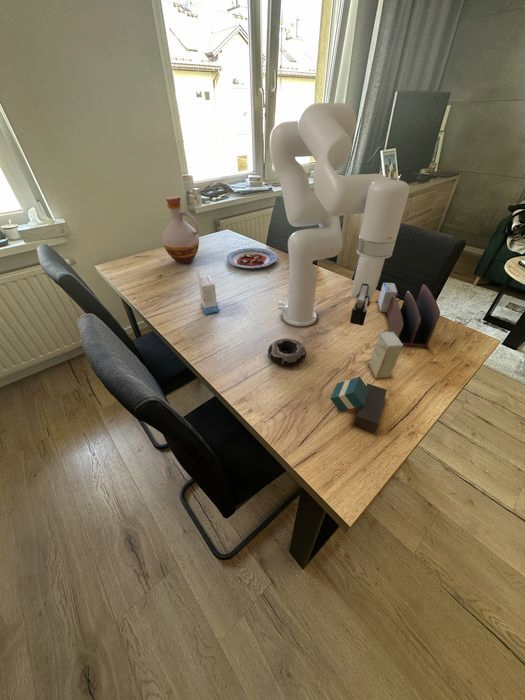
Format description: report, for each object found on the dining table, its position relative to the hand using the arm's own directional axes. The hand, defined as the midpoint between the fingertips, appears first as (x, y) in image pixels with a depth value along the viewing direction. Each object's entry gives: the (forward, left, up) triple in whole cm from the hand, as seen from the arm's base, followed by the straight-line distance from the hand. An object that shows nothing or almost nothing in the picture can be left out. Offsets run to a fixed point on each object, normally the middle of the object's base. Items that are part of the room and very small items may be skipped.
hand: (359, 313), depth 73 cm
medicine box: (+4, +42, -20) cm, 47 cm away
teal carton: (+4, -13, -20) cm, 24 cm away
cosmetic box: (+9, +4, -20) cm, 22 cm away
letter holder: (+13, +30, -20) cm, 39 cm away
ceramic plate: (-65, +58, -20) cm, 90 cm away
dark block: (+9, -13, -20) cm, 25 cm away
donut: (-18, -3, -20) cm, 27 cm away
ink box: (-57, +10, -20) cm, 61 cm away
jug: (-96, +43, -20) cm, 107 cm away
